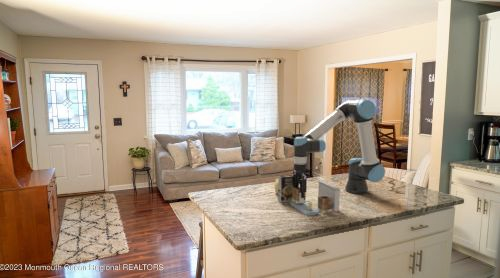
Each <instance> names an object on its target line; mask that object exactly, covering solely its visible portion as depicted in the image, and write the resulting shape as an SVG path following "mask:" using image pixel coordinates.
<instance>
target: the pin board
mask: <svg viewBox="0 0 500 278" xmlns="http://www.w3.org/2000/svg"><path fill="white" fill-rule="evenodd" d="M289 203H290V205H291V206H292V207H293V208H295V209H296V210H298V211H299V212H300V213H302V214H303V215H305V216H306V217H307V216H315V214H316V215H319V214H320V211H319V210H318V209H316V208H315V207H313V203H312V202H308V203H307V202H305V203H298V204H297V203H295V202H289Z"/></svg>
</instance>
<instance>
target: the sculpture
mask: <svg viewBox="0 0 500 278" xmlns="http://www.w3.org/2000/svg"><path fill="white" fill-rule="evenodd" d="M273 185H274V187H273V188H274V191H275V193H277V194H278V178H275V179H274V184H273Z"/></svg>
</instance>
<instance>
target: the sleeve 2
mask: <svg viewBox="0 0 500 278" xmlns="http://www.w3.org/2000/svg"><path fill="white" fill-rule="evenodd" d="M317 210H318V211H319V213H322V214H327V213H326V212H328V213H332V211H333V210H332V198H330V197H328V196H318V195H317Z"/></svg>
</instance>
